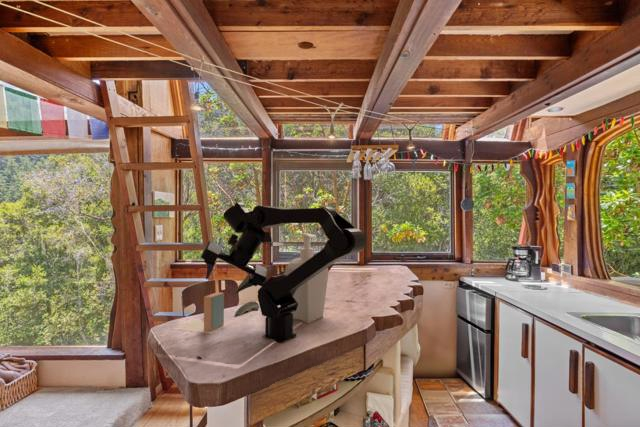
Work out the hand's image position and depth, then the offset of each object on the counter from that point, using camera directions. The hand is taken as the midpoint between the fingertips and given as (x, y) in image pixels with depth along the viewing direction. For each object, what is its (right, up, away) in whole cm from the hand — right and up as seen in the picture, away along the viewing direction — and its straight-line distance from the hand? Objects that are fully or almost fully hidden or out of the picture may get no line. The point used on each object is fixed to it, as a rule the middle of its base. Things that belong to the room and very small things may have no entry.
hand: (221, 285), depth 106 cm
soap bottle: (+23, -12, +8) cm, 27 cm away
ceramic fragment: (+4, -12, +13) cm, 19 cm away
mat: (-5, -11, -3) cm, 13 cm away
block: (-1, -11, -5) cm, 12 cm away
